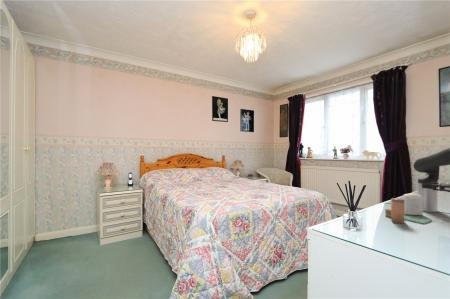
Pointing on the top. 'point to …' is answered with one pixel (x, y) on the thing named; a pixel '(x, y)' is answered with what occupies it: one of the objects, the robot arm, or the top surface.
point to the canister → (397, 210)
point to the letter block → (388, 212)
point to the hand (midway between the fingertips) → (425, 184)
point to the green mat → (417, 219)
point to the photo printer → (413, 204)
